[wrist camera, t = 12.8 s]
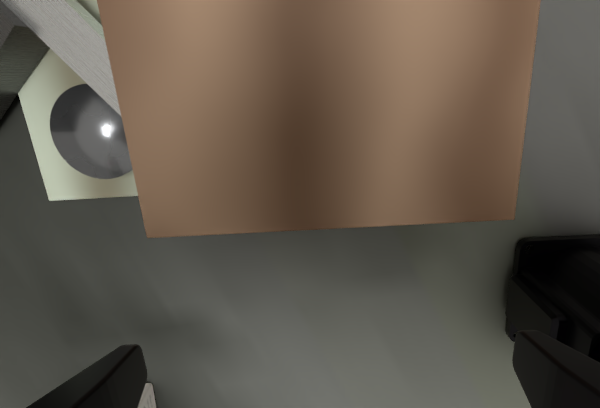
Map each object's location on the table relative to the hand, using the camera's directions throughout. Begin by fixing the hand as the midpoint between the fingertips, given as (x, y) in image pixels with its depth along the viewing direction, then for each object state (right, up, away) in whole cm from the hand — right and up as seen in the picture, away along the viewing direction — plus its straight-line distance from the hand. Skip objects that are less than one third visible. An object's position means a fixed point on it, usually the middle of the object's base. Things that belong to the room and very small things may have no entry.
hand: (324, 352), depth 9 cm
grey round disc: (-10, +7, +10) cm, 16 cm away
